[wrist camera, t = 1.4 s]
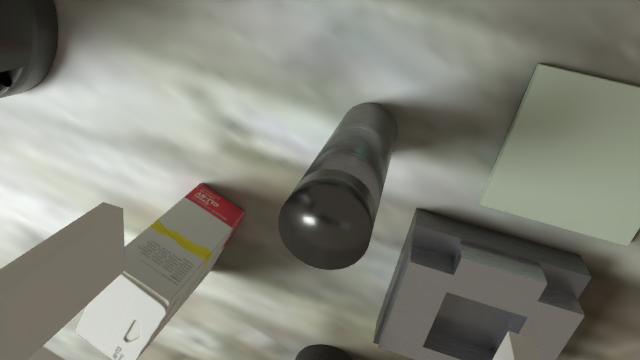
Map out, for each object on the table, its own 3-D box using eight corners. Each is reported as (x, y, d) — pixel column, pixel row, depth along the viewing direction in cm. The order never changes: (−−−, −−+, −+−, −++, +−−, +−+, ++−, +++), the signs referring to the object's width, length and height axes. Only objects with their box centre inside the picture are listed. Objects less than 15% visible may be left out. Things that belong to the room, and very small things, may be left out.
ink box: (200, 179, 35) (103, 259, 25) (248, 212, 36) (171, 305, 25) (165, 243, 40) (69, 335, 29) (209, 273, 40) (129, 375, 29)
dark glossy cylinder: (336, 147, 31) (272, 253, 19) (348, 96, 29) (286, 176, 17) (388, 162, 31) (357, 281, 18) (403, 111, 29) (381, 204, 17)
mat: (479, 200, 30) (479, 204, 30) (538, 63, 26) (540, 64, 25) (623, 241, 29) (627, 246, 28) (713, 104, 24) (719, 106, 24)
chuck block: (376, 321, 37) (370, 361, 33) (416, 208, 32) (414, 240, 28) (513, 366, 36) (523, 414, 32) (580, 255, 30) (602, 296, 26)
